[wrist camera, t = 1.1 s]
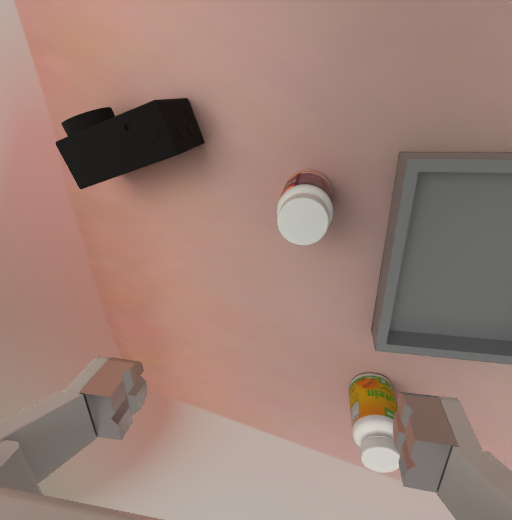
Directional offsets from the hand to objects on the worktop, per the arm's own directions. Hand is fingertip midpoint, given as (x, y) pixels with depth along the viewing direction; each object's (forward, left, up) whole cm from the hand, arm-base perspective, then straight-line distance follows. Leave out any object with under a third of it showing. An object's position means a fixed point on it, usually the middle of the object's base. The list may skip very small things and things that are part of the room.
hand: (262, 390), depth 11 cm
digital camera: (-5, -16, -26) cm, 31 cm away
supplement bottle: (+26, +9, -26) cm, 38 cm away
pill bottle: (+1, 0, -26) cm, 26 cm away
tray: (+7, +16, -26) cm, 31 cm away
